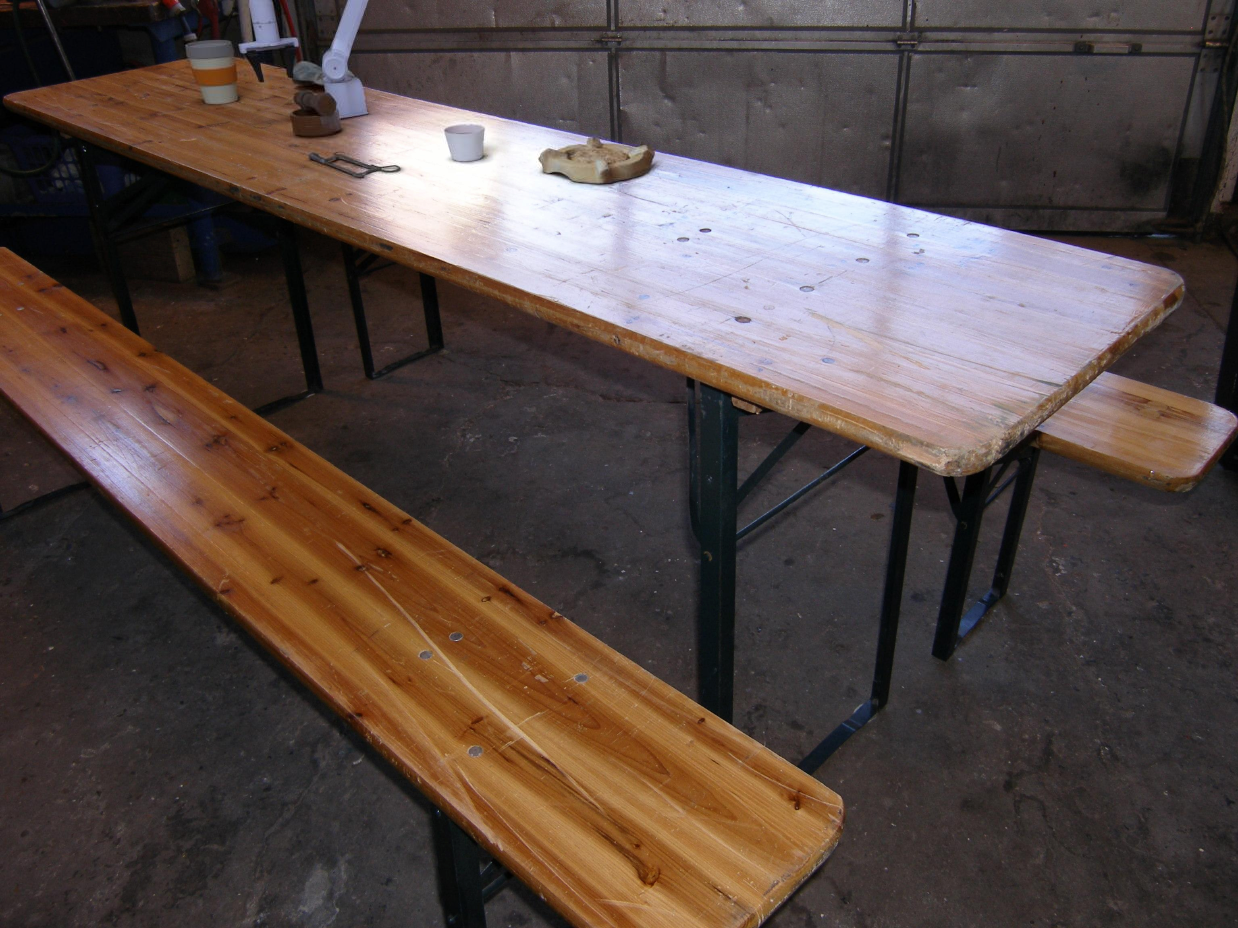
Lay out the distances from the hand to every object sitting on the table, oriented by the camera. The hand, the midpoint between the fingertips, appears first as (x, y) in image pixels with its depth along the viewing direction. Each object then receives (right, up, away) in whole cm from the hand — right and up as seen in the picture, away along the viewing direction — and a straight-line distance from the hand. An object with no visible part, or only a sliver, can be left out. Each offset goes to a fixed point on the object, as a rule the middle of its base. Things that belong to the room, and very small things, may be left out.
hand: (276, 80), depth 248 cm
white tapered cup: (+54, -30, -30) cm, 68 cm away
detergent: (+3, +11, +36) cm, 38 cm away
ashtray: (+84, -35, -39) cm, 99 cm away
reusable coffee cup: (-25, +4, +27) cm, 37 cm away
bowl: (+13, -16, -7) cm, 21 cm away
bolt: (+13, -12, -9) cm, 20 cm away
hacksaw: (+29, -32, -32) cm, 54 cm away
